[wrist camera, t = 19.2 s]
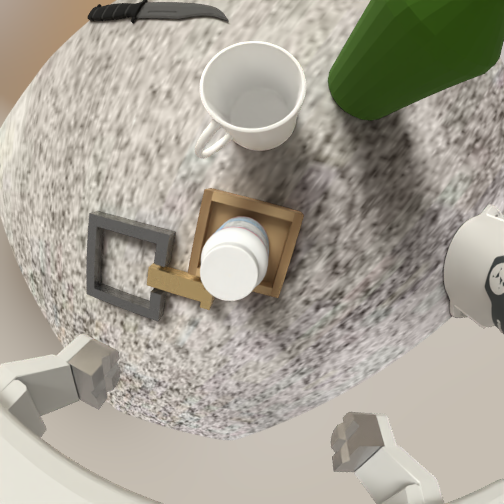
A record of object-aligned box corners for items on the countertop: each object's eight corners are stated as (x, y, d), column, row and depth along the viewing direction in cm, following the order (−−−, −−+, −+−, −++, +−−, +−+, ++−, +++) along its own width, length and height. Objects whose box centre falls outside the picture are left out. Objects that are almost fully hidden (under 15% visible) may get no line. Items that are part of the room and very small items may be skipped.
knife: (237, 1, 23) (223, 26, 24) (239, 7, 24) (225, 32, 26) (96, 2, 22) (82, 24, 24) (100, 5, 24) (87, 27, 25)
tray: (301, 211, 31) (303, 215, 28) (277, 287, 34) (278, 298, 31) (210, 188, 31) (204, 189, 28) (194, 265, 34) (187, 273, 31)
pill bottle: (237, 275, 33) (220, 322, 22) (207, 234, 32) (175, 264, 21) (279, 248, 32) (282, 286, 21) (249, 204, 30) (236, 220, 20)
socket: (175, 231, 33) (169, 235, 31) (163, 314, 37) (158, 321, 35) (97, 211, 33) (89, 213, 31) (93, 288, 37) (86, 293, 35)
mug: (232, 182, 31) (209, 187, 20) (188, 130, 30) (145, 110, 18) (311, 122, 28) (333, 93, 17) (264, 71, 27) (260, 22, 15)
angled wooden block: (218, 281, 34) (213, 291, 31) (214, 298, 35) (209, 310, 32) (154, 262, 34) (144, 270, 31) (152, 280, 35) (142, 289, 32)
